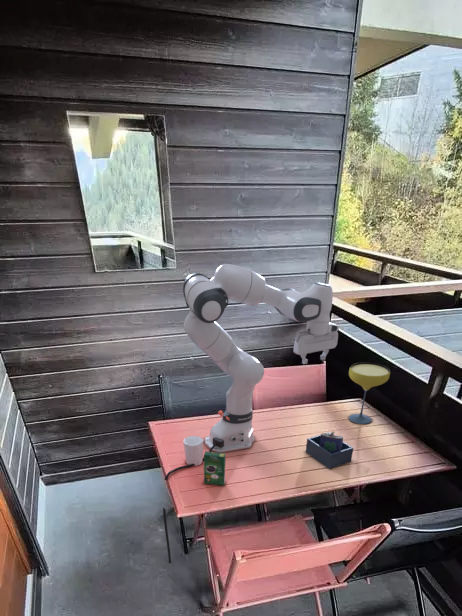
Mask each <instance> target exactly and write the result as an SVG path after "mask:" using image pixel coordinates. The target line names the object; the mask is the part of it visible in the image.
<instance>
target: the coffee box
mask: <svg viewBox="0 0 462 616" xmlns="http://www.w3.org/2000/svg"><path fill="white" fill-rule="evenodd" d="M203 458H204V461H203V483H204V484H205V485H213V486H214V485H215V486H225V482H226V452H221V453H219V452H215V451H212V452H209V451H205V452H204V453H203Z"/></svg>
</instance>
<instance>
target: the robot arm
mask: <svg viewBox="0 0 462 616" xmlns="http://www.w3.org/2000/svg"><path fill="white" fill-rule="evenodd" d="M182 292H183V297H184V301H185V305H186V307H187V308H189V313H188V314H187V315H186V317H185V319H184V320H183V330H184V332H185V334H186V335H187V336H188V338H189V339H190V340H191V341H192V342H193V343H194V344H195V346H196V347H198V348H199V349H200V350H201V351H202V352H203V353H204V354H205V355H207V356H208V357H209V359H211V360H212V361H213V363H214V364H215V365H216V366H217V367H218V368H219V369H220V370H221V371H222V372H223V373H224V374H226V375H227V376H229V377H231V379H232V380H231V381H232V383H231V387H230V388H228V389H227V390H226V395H225V409H224V411H222V409H221V410H218V411H217V414H218V415H219V416H220V417H221V419H220V420H218V421H217V422H216V423H215V424H214V425H213V426H212V427H211V428H210V431H209V435H208V436H206V437H205V438H204V444H205V445H206V447H207V448H209V450H208V452H215V453H226V452H227V453H228V452H232V451H238V450H239V451H240V450H244V449H250V448H252V444H253V443H254V441H255V436H254V432H253V431H254V428H253V415H254V413H253V412H254V411H253V395H254V391H255V387H256V385H258V384H259V383H260V382H261V381H262V380H263V378H264V375H265V368H264V365H263V364H262V363H261V362H260V360H258V358H257V357H255V356H252V355H251V354H249V353H247V352H246V351H244V350H242V349H241V348H239V347H238V346H237V344H236V343H235V342H234V339H233V337H232V336H231V335H230V334H229V333H228V332H227V331H226V330H225V329H224V328H223V327H221V325H220V324H219V323H218V320H219V319H220V318H221V317H222V316H223V314H224V312H225V309H226V308H227V307H228V306H229V300H231V301H234V302H236V303H239V304H242V305H245V306H255V307H256V306H258V305H259V304H260V303H263V304H266V305H268V306H272V307H274V308H275V310H276V311H277V312H278V313H279V314H280V315H282V316H284V317H287V318H289V319H291V320H293V321H295V322H298V323H306V328H304V329H300V330H298V331H297V333H296V334H295V339H294V342H293V343H294V344H293V353H294V354H296V355H298V356H300V358H301V359H302V360H301V364H303V365H308V361H309V359H307V358H306V357H307V354H312V353H316V352H322V354H320V356H319V360H320V361H325V360H326V357H327V355H328V354H329V352H330V350H331V349H335V348H336V347H337V345H338V340H339V329H340V325H338V324H336V323H334V322H331V311H332V306H333V297H334V296H333V293H334V292H333V288H332V286H331V285H330V284H327V283H323V282H317V281H316V282H313V283H312V285H311V286H310V287H309V288H308V289H306V290H305V291H302V292H300V291H298V290H296V289H294V288H289V287H288V288H282V289H281V288H280V289H279V288H277V287H274V286H272V285H269V284H267V282H266V279H265V277H263V276H262V275H261V274H259V273H257V272H256V271H254V270H251V269H249V268H247V267H244V266H239V265H237V264H233V263H222V264H221V265H219V266H218V267H217V268H216V270H215V272H214V274H213V276H212V277H211V278H209V277H208V276H207V275H205V274H204V273H201V272H193V273H191V274H189V275H188V276H186V277H185V279H184V281H183V285H182ZM203 462H204V457H203ZM194 465H195V464H190V465H188V464H186V465H181V466H178V467H176V468H174V469H171V470H170V471H168V472H167V474H166V475H165V477H164V479H163V480H164V481H167V480H168V479H169V477H170V475H172V474H173V473H175V472H177V471H180V470H184V469H188V468H191V467H195V466H194ZM166 512H167V511H166V508H164V507H162V514H163V525H164V532H165V540H166V541H165V542H166V548H167V557H168V564H172V557H171V548H170V540H169V531H168V522H167V513H166Z"/></svg>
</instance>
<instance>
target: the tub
mask: <svg viewBox="0 0 462 616" xmlns="http://www.w3.org/2000/svg"><path fill="white" fill-rule="evenodd" d="M327 433H328V434H331V432H327ZM320 438H321V434H318V435H314V436H312V437H311V436H310V437H307V438H306V447H305V453H306V454H308V455H309V456H310V457H312V458H313V459H315V460H316V461H317V462H320V463H321V464H322V465H323V466H325V467H326V468H327V469H329V470H331V469H333V468H336V467H340V466H341V465H345V464H348V463H351V462H352V458H353V454H354V447H353V446H352V445H350V444H348V443H347V442H346V441H343V442H342V449H341V451H339V452H336V453H333V454H331V453H330V452H328V451H327V450H325V449H324V448H323V447H321V446H320Z"/></svg>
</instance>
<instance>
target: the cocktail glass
mask: <svg viewBox="0 0 462 616" xmlns="http://www.w3.org/2000/svg"><path fill="white" fill-rule="evenodd" d="M348 376H349V378H350V379H351V381H352V382H354V383H355V384H357V385H359V386H361V387H362V389H363V390H364V394H363V399H362V404H361V409H360V412H359V413H353V414H350V415H349V416H348V420H349V421H350V422H351V423H354V424H358V425H367V424H370V423H371V422H372V418H371V417H370V415H369V416H368V415H367V414H363V413H364V411H363V410H364V405H365V399H366V396H367V395H366V394H367V391H369V390H370V389H371V388H375V387H378V386H381V385H383V384H385V383H387V382H388V381H389V379H390V377H391V370H390V369H389V367H387V366H385V365H383V364H380V363H375V362H356V363H352V365H350V367H349V370H348Z"/></svg>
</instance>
